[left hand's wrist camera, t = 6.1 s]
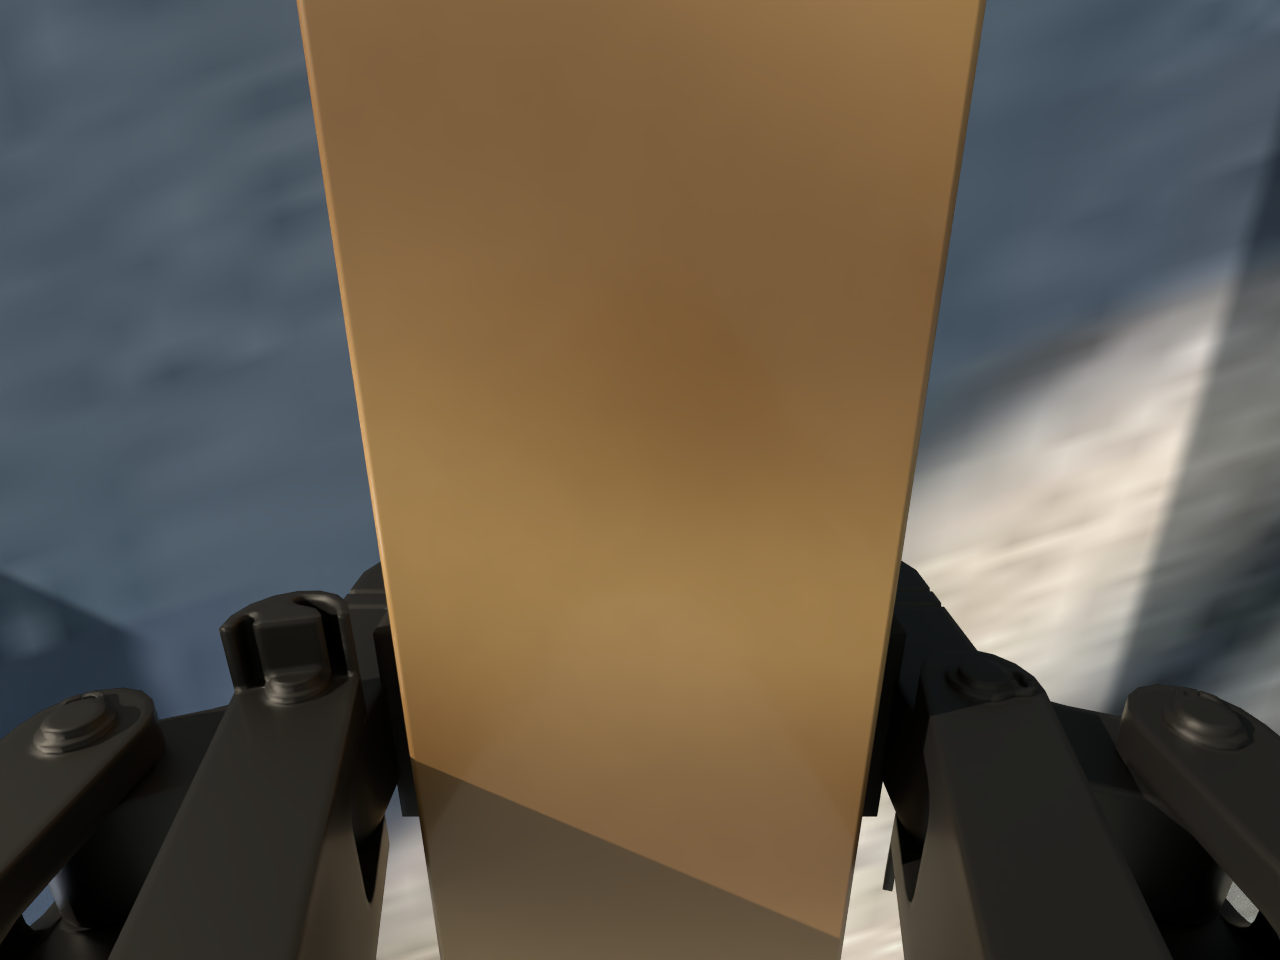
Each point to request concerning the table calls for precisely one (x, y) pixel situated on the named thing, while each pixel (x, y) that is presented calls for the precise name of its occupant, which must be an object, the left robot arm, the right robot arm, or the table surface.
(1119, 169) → the table surface
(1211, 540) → the table surface
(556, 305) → the beam
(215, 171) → the table surface
